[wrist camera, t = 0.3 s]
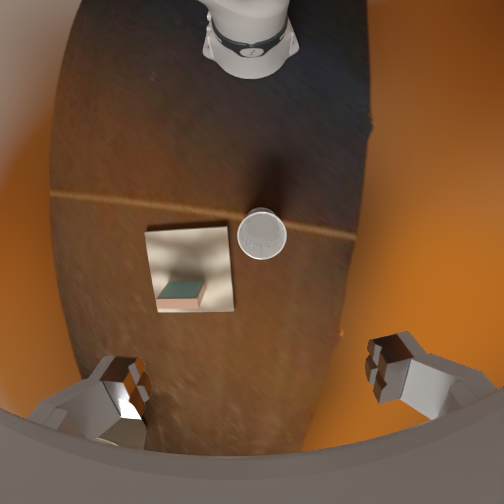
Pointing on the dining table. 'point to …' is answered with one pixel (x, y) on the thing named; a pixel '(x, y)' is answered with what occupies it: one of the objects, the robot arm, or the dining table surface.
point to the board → (193, 264)
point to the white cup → (261, 233)
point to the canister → (125, 433)
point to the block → (181, 295)
